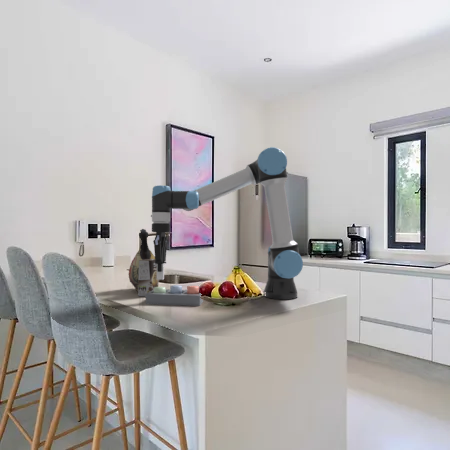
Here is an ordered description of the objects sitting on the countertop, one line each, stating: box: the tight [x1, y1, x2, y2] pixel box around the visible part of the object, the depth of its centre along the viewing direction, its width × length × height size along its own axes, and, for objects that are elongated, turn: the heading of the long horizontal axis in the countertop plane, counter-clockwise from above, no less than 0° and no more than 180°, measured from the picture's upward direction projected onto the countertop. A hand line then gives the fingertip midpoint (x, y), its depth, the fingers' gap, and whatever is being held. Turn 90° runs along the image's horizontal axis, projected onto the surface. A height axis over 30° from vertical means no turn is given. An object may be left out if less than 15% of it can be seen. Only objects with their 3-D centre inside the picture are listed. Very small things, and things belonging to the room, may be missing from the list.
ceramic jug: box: [128, 228, 161, 292], centre depth 172 cm, size 17×15×30 cm
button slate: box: [170, 284, 183, 294], centre depth 147 cm, size 5×5×4 cm
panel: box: [145, 288, 204, 307], centre depth 147 cm, size 22×12×4 cm, turn 84°
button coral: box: [186, 285, 200, 294], centre depth 146 cm, size 5×5×4 cm
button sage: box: [154, 286, 167, 293], centre depth 148 cm, size 5×5×4 cm
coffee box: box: [137, 259, 159, 297], centre depth 162 cm, size 9×6×16 cm
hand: (160, 279), depth 148 cm, fingers closed
